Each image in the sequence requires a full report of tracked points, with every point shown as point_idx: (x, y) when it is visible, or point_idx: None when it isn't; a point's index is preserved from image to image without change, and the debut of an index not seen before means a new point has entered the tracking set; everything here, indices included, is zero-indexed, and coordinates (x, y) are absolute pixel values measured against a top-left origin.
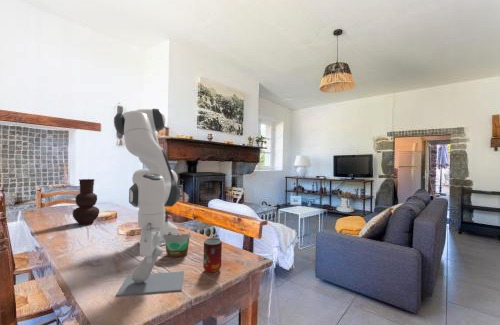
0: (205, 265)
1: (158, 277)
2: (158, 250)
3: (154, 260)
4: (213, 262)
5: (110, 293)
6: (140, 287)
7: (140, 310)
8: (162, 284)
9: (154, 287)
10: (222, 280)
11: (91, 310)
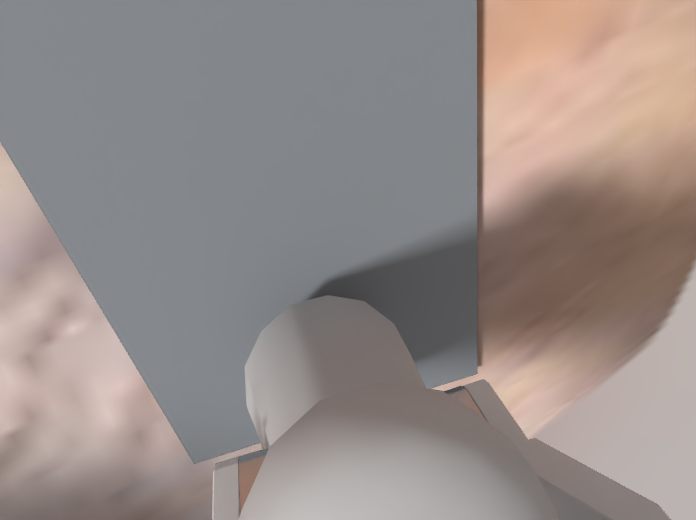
0: None
1: (192, 228)
2: (548, 515)
3: (404, 384)
4: None
5: None
6: (395, 289)
7: (671, 149)
8: (344, 126)
9: (403, 180)
10: None
11: (579, 385)
